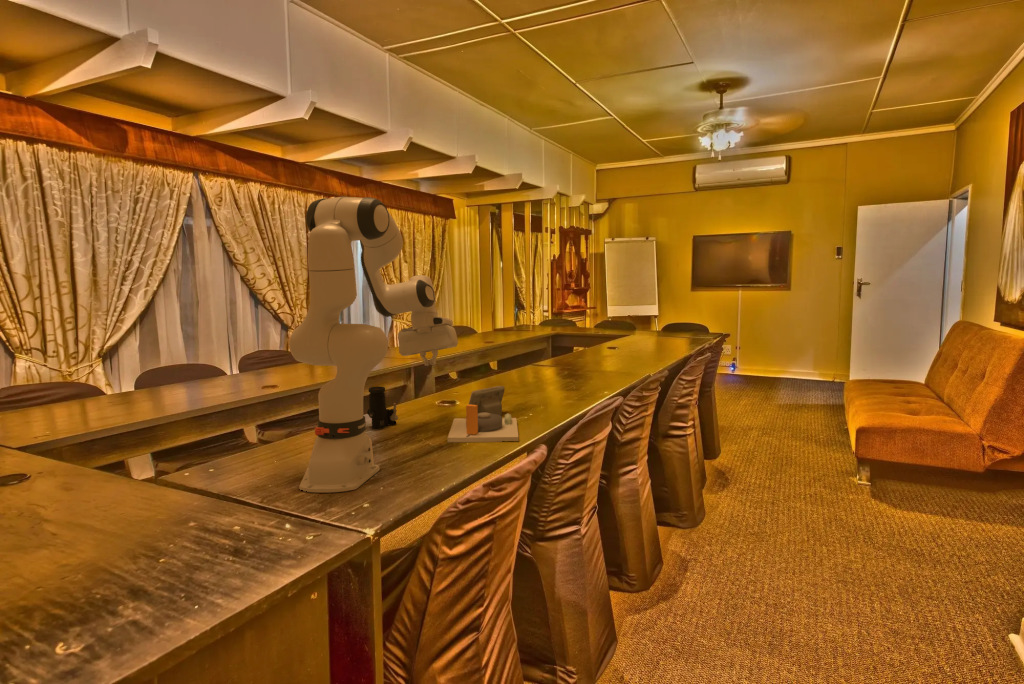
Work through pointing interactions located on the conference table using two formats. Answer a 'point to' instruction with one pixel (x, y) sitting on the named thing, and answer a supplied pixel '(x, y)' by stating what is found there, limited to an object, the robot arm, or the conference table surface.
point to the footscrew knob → (481, 420)
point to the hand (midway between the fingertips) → (430, 364)
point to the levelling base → (484, 432)
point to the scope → (380, 409)
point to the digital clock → (488, 400)
